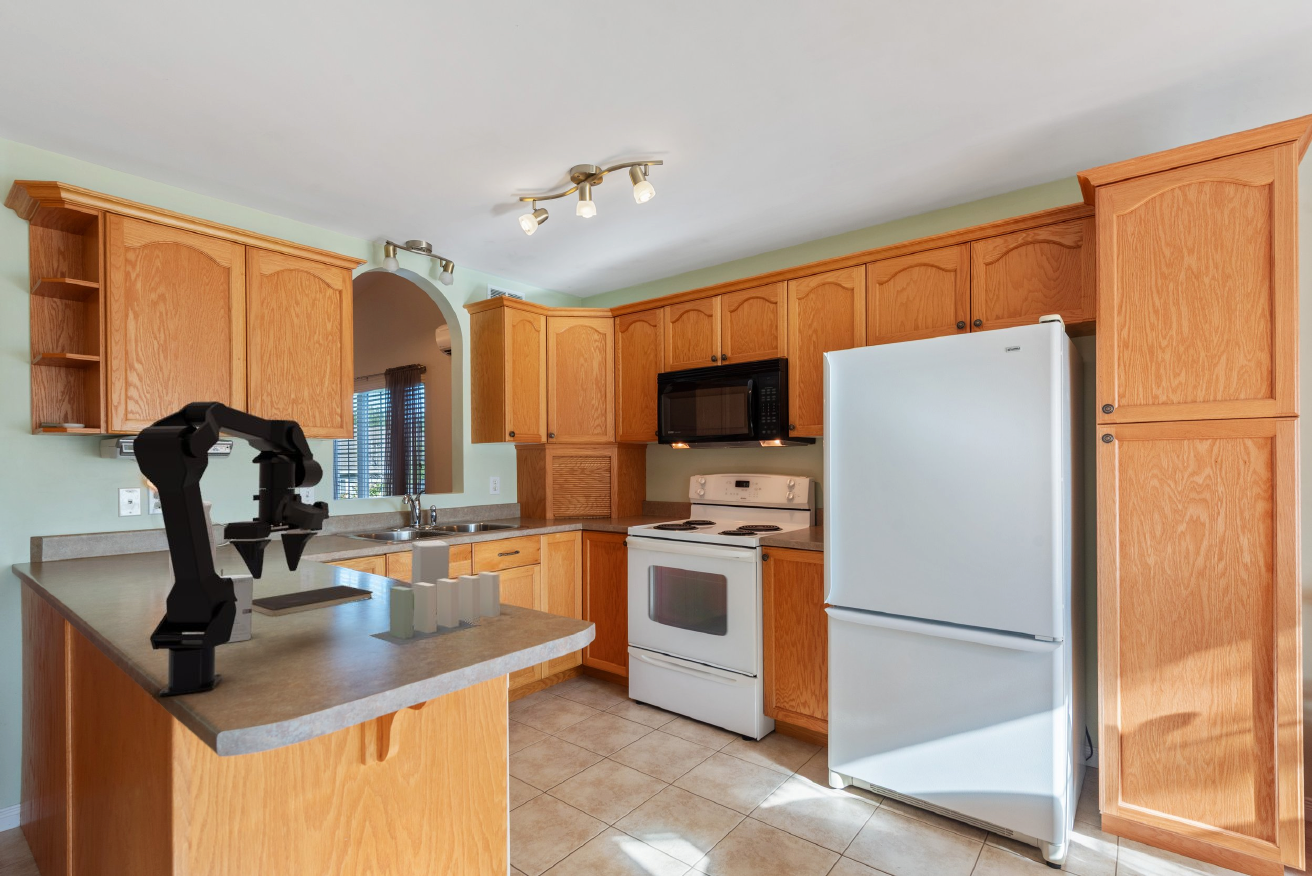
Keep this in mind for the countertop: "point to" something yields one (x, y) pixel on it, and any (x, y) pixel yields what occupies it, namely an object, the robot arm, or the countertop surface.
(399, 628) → the domino
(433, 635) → the mat
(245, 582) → the skincare box
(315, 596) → the hardcover book
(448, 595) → the domino
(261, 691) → the countertop surface
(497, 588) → the domino
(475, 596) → the domino
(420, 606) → the domino
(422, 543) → the skincare box
